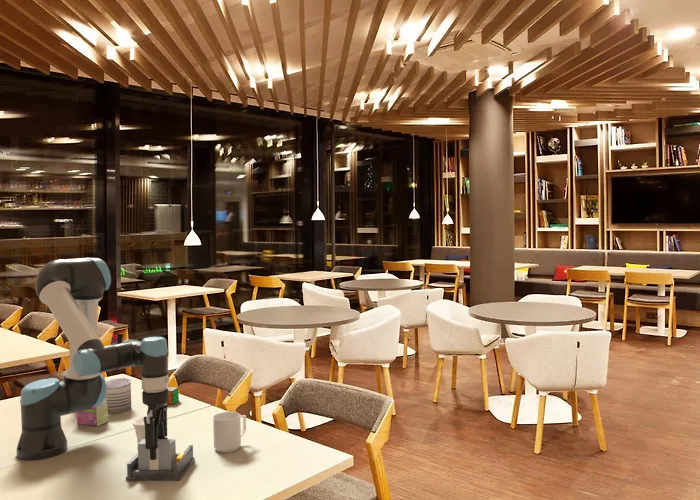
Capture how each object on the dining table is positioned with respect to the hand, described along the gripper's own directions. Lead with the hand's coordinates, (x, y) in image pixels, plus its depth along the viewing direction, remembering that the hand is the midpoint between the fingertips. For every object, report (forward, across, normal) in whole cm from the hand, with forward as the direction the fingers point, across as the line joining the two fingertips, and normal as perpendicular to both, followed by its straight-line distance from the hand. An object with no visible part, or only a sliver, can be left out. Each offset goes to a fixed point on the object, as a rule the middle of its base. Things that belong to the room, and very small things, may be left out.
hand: (157, 465), depth 179 cm
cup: (+3, +20, +11) cm, 23 cm away
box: (+3, +47, +43) cm, 64 cm away
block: (+2, 0, 0) cm, 2 cm away
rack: (+3, +3, 0) cm, 4 cm away
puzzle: (+3, +73, +22) cm, 76 cm away
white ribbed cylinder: (+3, +62, +40) cm, 74 cm away
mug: (+3, +22, -17) cm, 28 cm away
